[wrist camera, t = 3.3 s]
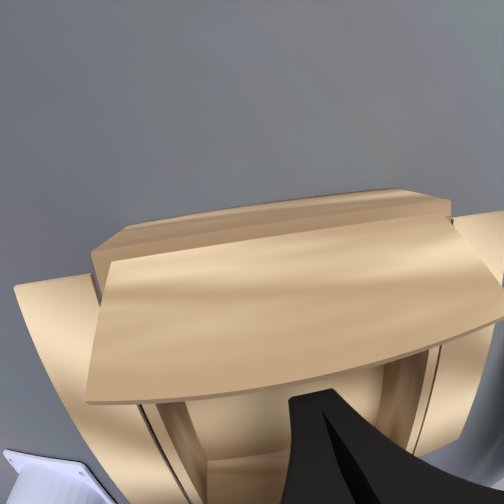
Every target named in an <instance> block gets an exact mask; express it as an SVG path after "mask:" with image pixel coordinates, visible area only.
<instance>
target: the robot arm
mask: <svg viewBox="0 0 504 504" xmlns="http://www.w3.org/2000/svg"><path fill="white" fill-rule="evenodd" d="M288 407H289V417H290V428H291V448H290V458H289V464H288V470H287V476H286V481H285V485H284V490H283V494H282V498H281V501H280V504H504V491H501V490H497V489H493V488H489V487H485V486H482V485H478V484H475V483H473V482H470V481H467V480H464V479H462V478H459V477H457V476H454V475H451V474H449V473H447V472H444V471H442V470H440V469H438V468H436V467H434V466H432V465H430V464H428V463H427V462H425V461H423V460H421V459H419V458H418V457H416V456H414V455H413V454H411V453H409V452H408V451H406V450H405V449H403V448H402V447H400V446H399V445H398V444H396V443H395V442H393V441H392V440H390V439H389V438H388V437H386V436H385V435H384V434H383V433H381V432H380V431H379V430H378V429H376V428H375V427H374V426H373V425H372V424H370V423H369V422H368V421H367V420H366V419H364V418H363V417H362V416H361V415H360V414H359V413H358V412H357V411H356V410H355V409H354V408H352V407H351V406H350V405H349V404H348V403H347V402H346V401H345V400H344V399H343V398H342V397H341V396H340V395H339V394H338V392H337V391H336V390H334V389H333V388H329V389H325V390H321V391H316V392H312V393H307V394H302V395H298V396H293V397H291V398H290V399H289V400H288ZM3 454H4V456H5V457H6V459H7V460H8V461H9V462H10V464H11V465H12V466H13V467H14V469H15V470H16V471H17V472H18V473H19V476H18V478H17V480H16V482H15V484H14V487H13V489H12V491H11V493H10V495H9V498H8V500H7V502H6V504H116V503H115V502H114V501H113V500H112V498H111V497H110V496H109V495H108V494H107V493H106V491H105V490H104V489H103V488H102V486H101V485H100V484H99V483H98V481H97V480H96V479H95V478H94V476H93V475H92V474H91V472H90V471H89V470H88V468H87V467H86V466H85V465H84V464H82V463H80V462H74V461H66V460H59V459H52V458H46V457H40V456H34V455H29V454H24V453H19V452H14V451H10V450H4V452H3Z"/></svg>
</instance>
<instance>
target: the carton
mask: <svg viewBox="0 0 504 504" xmlns="http://www.w3.org/2000/svg"><path fill="white" fill-rule="evenodd" d="M440 212H441V213H442V214H443V215H444V216H445V218H446V219H447V220H448V221H449V222H450V223H451V224H452V225H453V226H454V228H455V229H456V230H457V231H458V232H459V233H460V234H461V236H462V237H463V238H464V239H465V240H466V241H467V243H468V244H469V245H470V246H471V247H472V249H473V250H474V251H475V252H476V254H477V255H478V256H479V257H480V258H481V260H482V261H483V262H484V264H485V265H486V266H487V267H488V269H489V270H490V271H491V273H492V274H493V275H494V276H495V278H496V279H497V280H498V282H499V283H500V285H501V286H502V279H503V272H504V210H502V211H495V212H488V213H482V214H475V215H468V216H461V217H454V218H451V200H448V199H444V198H439V197H435V196H430V195H425V194H420V193H415V192H410V191H405V190H400V189H395V188H389V189H379V190H369V191H360V192H351V193H342V194H333V195H325V196H316V197H308V198H300V199H293V200H285V201H278V202H270V203H263V204H256V205H249V206H242V207H235V208H229V209H222V210H216V211H210V212H203V213H197V214H191V215H185V216H179V217H173V218H167V219H162V220H156V221H150V222H145V223H139V224H134V225H128V226H127V227H125V228H124V229H122V230H121V231H120V232H118V233H117V234H115V235H114V236H113V237H111V238H110V239H108V240H107V241H106V242H104V243H103V244H101V245H100V246H99V247H97V248H96V249H95V250H93V251H92V252H91V256H92V260H93V264H94V268H95V272H96V275H97V279H98V283H99V286H100V290H101V293H102V297H103V293H104V289H105V285H106V281H107V277H108V273H109V269H110V265H111V262H113V261H119V260H125V259H132V258H138V257H144V256H150V255H156V254H162V253H169V252H175V251H181V250H188V249H194V248H200V247H207V246H213V245H220V244H226V243H232V242H239V241H246V240H252V239H259V238H265V237H272V236H279V235H285V234H292V233H299V232H306V231H312V230H319V229H326V228H333V227H340V226H347V225H354V224H361V223H368V222H375V221H382V220H389V219H396V218H404V217H411V216H418V215H426V214H433V213H440ZM13 288H14V291H15V294H16V297H17V300H18V303H19V306H20V308H21V311H22V314H23V317H24V319H25V322H26V325H27V327H28V330H29V332H30V335H31V337H32V340H33V342H34V344H35V347H36V349H37V351H38V354H39V356H40V358H41V360H42V362H43V365H44V367H45V369H46V371H47V373H48V375H49V377H50V379H51V381H52V383H53V385H54V387H55V389H56V391H57V393H58V395H59V397H60V399H61V400H62V402H63V404H64V406H65V408H66V410H67V411H68V413H69V415H70V417H71V418H72V420H73V422H74V423H75V425H76V427H77V428H78V430H79V432H80V433H81V435H82V436H83V438H84V440H85V441H86V443H87V444H88V446H89V447H90V449H91V450H92V452H93V453H94V455H95V456H96V458H97V459H98V461H99V462H100V464H101V465H102V466H103V468H104V469H105V471H106V472H107V473H108V475H109V476H110V477H111V479H112V480H113V481H114V483H115V484H116V485H117V487H118V488H119V489H120V491H121V492H122V493H123V494H124V496H125V497H126V498H127V499H128V500H129V502H130V503H131V504H191V503H190V501H189V500H188V498H187V496H186V495H185V493H184V491H183V490H182V488H181V486H180V485H179V483H178V481H177V479H176V478H175V476H174V474H173V472H172V470H171V469H170V467H169V465H168V463H167V461H166V459H165V457H164V456H163V454H162V452H161V450H160V448H159V446H158V444H157V442H156V440H155V438H154V436H153V434H152V432H151V430H150V427H149V425H148V423H147V421H146V419H145V417H144V415H143V412H142V410H141V408H140V406H139V405H88V404H87V403H86V402H85V401H84V400H85V392H86V385H87V378H88V371H89V364H90V358H91V352H92V347H93V341H94V336H95V331H96V325H97V321H98V316H99V311H100V306H101V300H100V297H99V294H98V290H97V287H96V283H95V280H94V276H93V273H89V274H82V275H76V276H70V277H64V278H57V279H51V280H45V281H39V282H32V283H26V284H20V285H16V286H14V287H13ZM494 325H495V324H493V325H491V326H488V327H486V328H484V329H481V330H479V331H476V332H474V333H472V334H469V335H467V336H464V337H462V338H459V339H456V340H454V341H451V342H448V343H446V344H443V345H440V346H437V347H435V348H432V349H429V350H426V351H423V352H420V353H417V354H414V355H411V356H408V357H405V358H402V359H398V360H395V361H392V362H389V363H385V364H382V365H378V366H375V367H371V368H368V369H364V370H360V371H356V372H353V373H349V374H345V375H341V376H337V377H332V378H328V379H324V380H319V381H315V382H310V383H305V384H301V385H296V386H291V387H285V388H280V389H274V390H269V391H263V392H257V393H250V394H244V395H237V396H229V397H222V398H214V399H205V400H195V401H184V402H172V403H158V404H142V406H143V409H144V411H145V413H146V415H147V417H148V420H149V422H150V424H151V426H152V428H153V430H154V432H155V434H156V437H157V439H158V441H159V443H160V445H161V447H162V449H163V451H164V453H165V455H166V457H167V458H168V460H169V462H170V464H171V466H172V468H173V470H174V472H175V473H176V475H177V477H178V479H179V481H180V482H181V484H182V486H183V488H184V489H185V491H186V493H187V495H188V496H189V498H190V500H191V501H192V503H193V504H280V501H281V498H282V494H283V490H284V485H285V481H286V476H287V470H288V464H289V458H290V448H291V428H290V417H289V407H288V400H289V399H290V398H291V397H293V396H298V395H302V394H307V393H312V392H316V391H321V390H325V389H329V388H333V389H334V390H336V391H337V392H338V394H339V395H340V396H341V397H342V398H343V399H344V400H345V401H346V402H347V403H348V404H349V405H350V406H351V407H352V408H354V409H355V410H356V411H357V412H358V413H359V414H360V415H361V416H362V417H363V418H364V419H366V420H367V421H368V422H369V423H370V424H372V425H373V426H374V427H375V428H376V429H378V430H379V431H380V432H381V433H383V434H384V435H385V436H386V437H388V438H389V439H390V440H392V441H393V442H395V443H396V444H398V445H399V446H400V447H402V448H403V449H405V450H406V451H408V452H409V453H411V454H413V455H414V456H416V457H420V456H422V455H425V454H427V453H429V452H431V451H434V450H436V449H438V448H440V447H442V446H444V445H446V444H448V443H451V442H453V441H455V440H457V439H458V438H459V436H460V434H461V432H462V429H463V427H464V424H465V422H466V419H467V417H468V414H469V411H470V409H471V406H472V403H473V400H474V397H475V394H476V391H477V388H478V385H479V382H480V379H481V376H482V372H483V369H484V365H485V362H486V358H487V354H488V351H489V347H490V343H491V338H492V334H493V330H494Z"/></svg>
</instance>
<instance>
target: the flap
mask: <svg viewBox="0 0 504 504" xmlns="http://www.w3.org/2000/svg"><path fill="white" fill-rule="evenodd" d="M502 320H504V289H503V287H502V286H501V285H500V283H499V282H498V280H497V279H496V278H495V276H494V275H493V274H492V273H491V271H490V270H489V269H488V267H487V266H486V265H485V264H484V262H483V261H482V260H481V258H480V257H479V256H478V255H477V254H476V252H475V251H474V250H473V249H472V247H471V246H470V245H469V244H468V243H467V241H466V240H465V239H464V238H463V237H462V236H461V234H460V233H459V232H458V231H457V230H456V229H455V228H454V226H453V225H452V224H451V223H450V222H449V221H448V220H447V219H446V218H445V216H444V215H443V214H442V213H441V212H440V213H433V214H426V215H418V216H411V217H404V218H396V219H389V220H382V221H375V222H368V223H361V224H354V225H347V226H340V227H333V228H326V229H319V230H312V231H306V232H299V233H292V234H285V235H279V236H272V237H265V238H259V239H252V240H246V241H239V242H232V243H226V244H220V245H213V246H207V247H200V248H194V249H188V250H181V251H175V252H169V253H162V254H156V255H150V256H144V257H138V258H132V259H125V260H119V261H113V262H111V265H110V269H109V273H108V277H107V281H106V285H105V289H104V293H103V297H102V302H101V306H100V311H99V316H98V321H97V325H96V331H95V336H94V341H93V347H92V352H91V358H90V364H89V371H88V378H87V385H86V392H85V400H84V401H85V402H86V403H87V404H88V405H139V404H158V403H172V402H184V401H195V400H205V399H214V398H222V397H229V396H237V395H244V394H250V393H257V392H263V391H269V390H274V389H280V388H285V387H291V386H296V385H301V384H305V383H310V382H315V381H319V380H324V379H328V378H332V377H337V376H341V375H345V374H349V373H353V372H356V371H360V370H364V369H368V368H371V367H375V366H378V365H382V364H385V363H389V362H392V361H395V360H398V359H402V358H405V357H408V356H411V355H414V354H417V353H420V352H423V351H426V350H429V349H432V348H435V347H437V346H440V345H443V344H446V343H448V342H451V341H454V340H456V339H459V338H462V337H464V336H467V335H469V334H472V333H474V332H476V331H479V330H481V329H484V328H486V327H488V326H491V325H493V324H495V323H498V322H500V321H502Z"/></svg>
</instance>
